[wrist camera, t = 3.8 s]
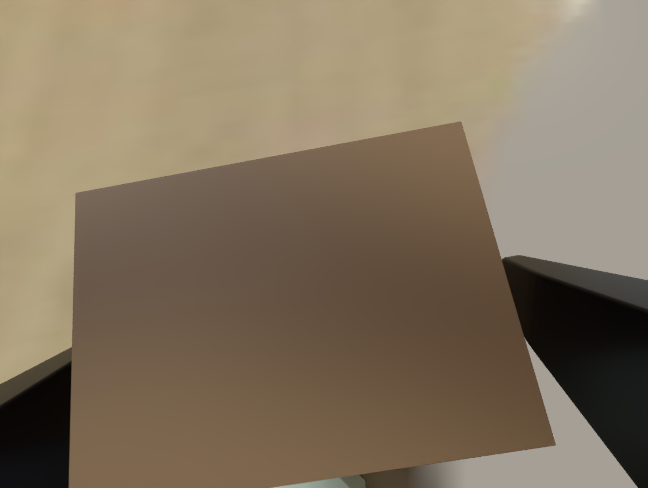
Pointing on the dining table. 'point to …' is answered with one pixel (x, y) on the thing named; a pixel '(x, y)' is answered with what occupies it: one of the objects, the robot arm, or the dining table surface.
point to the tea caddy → (296, 321)
